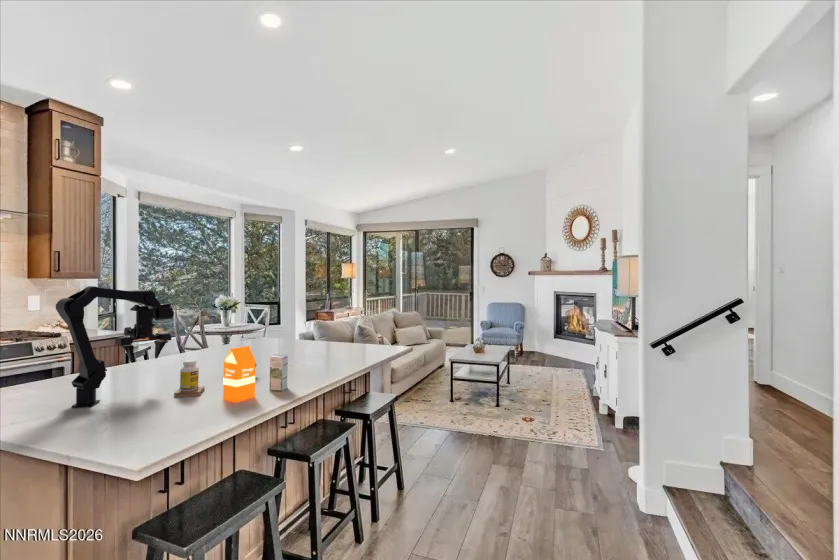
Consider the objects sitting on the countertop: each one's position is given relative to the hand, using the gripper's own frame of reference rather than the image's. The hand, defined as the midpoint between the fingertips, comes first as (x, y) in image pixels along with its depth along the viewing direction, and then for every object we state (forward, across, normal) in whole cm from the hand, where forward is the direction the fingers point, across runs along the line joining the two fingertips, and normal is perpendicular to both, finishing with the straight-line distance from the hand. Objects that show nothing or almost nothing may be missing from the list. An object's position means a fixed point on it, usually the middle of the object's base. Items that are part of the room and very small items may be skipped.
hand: (144, 360), depth 173 cm
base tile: (+13, -10, +16) cm, 23 cm away
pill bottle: (+12, -10, +16) cm, 22 cm away
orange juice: (+13, -18, +37) cm, 43 cm away
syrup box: (+13, -35, +38) cm, 54 cm away
